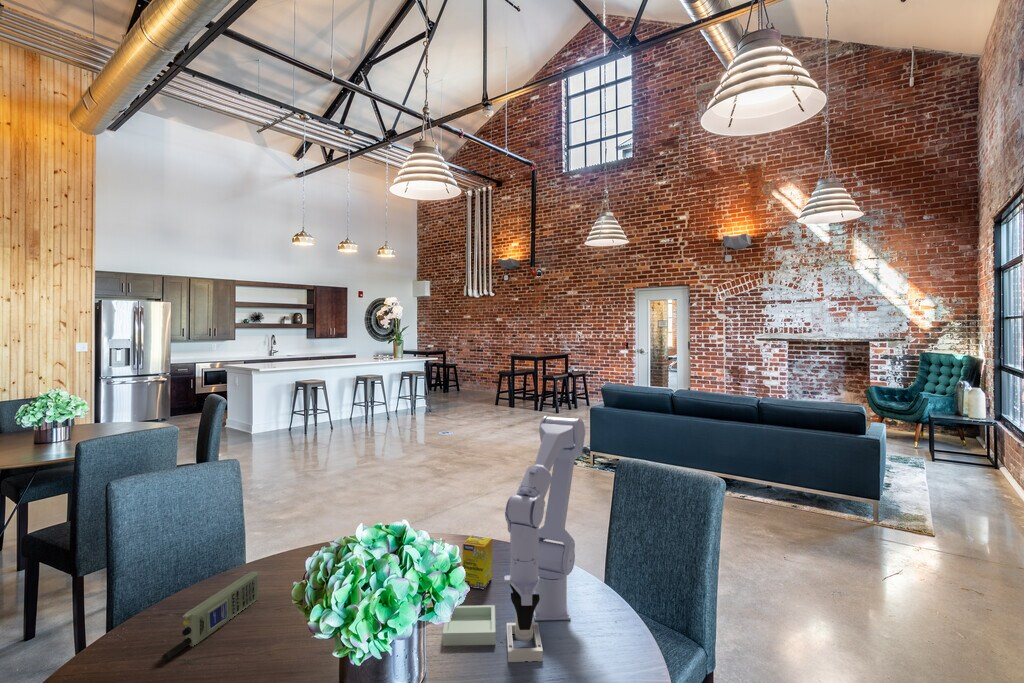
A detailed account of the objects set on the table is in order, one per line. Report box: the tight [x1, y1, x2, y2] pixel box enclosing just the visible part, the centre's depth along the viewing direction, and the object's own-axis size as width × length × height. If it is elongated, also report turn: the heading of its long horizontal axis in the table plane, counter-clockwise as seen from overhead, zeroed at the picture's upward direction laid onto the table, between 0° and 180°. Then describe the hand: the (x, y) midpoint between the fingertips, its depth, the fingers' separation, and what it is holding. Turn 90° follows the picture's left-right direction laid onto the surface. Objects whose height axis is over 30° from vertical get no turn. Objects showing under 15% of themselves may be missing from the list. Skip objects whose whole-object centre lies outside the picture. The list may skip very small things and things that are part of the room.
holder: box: [506, 621, 544, 663], centre depth 102 cm, size 10×7×2 cm, turn 3°
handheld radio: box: [162, 571, 259, 662], centre depth 108 cm, size 7×3×25 cm
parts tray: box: [442, 604, 496, 647], centre depth 107 cm, size 11×11×2 cm
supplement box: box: [461, 535, 493, 589], centre depth 129 cm, size 6×6×11 cm
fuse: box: [514, 612, 534, 643], centre depth 102 cm, size 4×4×7 cm
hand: (523, 623), depth 102 cm, fingers closed on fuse, 3 cm apart
